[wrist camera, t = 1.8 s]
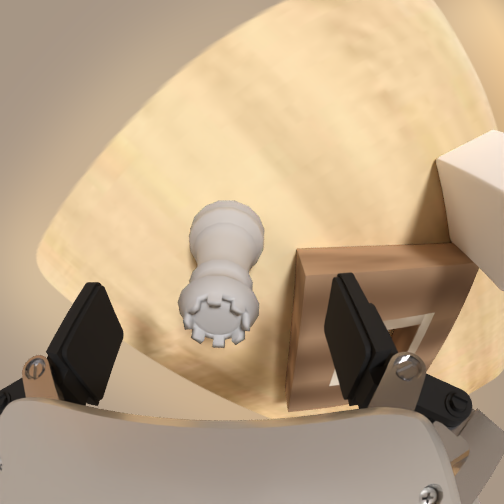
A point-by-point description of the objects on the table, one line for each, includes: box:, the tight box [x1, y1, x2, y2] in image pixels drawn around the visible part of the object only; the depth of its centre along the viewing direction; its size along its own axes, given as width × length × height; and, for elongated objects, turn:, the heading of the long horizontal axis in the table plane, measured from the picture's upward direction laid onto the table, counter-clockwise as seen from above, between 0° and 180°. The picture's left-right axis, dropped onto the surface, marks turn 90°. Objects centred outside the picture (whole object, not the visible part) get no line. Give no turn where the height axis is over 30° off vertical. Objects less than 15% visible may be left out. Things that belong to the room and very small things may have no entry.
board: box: [285, 243, 479, 412], centre depth 20 cm, size 16×14×3 cm
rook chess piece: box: [178, 201, 264, 348], centre depth 14 cm, size 4×4×8 cm
